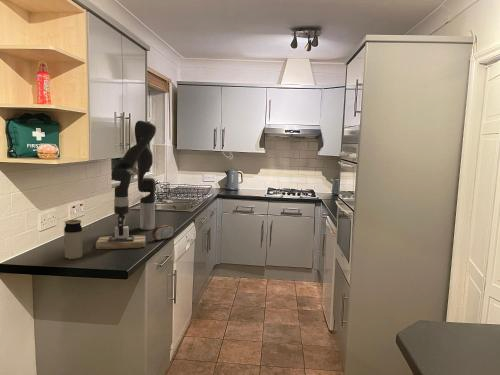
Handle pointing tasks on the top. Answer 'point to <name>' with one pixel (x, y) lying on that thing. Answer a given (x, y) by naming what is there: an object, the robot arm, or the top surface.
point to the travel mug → (73, 239)
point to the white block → (125, 232)
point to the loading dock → (120, 242)
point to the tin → (163, 232)
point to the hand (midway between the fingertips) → (121, 233)
